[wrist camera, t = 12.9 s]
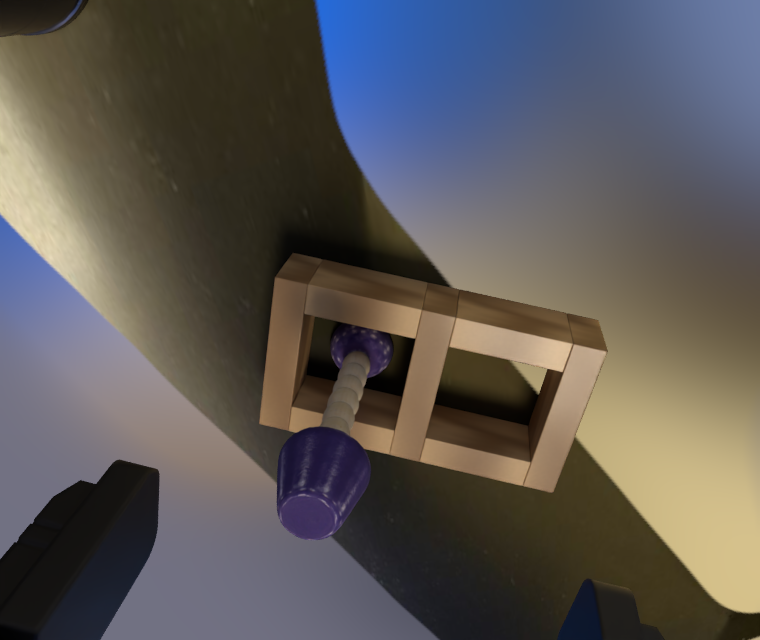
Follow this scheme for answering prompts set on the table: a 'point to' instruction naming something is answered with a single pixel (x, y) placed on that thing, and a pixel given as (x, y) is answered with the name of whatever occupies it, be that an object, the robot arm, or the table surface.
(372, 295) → the socket block
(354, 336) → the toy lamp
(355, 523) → the table surface
